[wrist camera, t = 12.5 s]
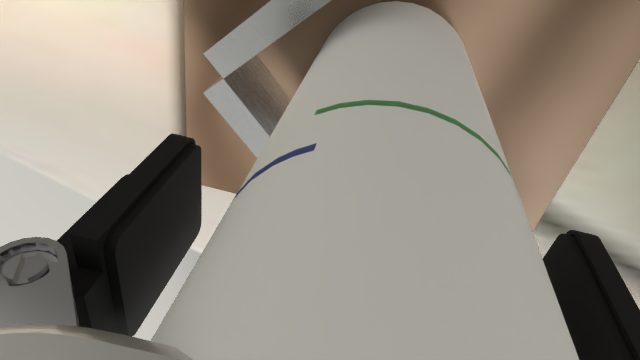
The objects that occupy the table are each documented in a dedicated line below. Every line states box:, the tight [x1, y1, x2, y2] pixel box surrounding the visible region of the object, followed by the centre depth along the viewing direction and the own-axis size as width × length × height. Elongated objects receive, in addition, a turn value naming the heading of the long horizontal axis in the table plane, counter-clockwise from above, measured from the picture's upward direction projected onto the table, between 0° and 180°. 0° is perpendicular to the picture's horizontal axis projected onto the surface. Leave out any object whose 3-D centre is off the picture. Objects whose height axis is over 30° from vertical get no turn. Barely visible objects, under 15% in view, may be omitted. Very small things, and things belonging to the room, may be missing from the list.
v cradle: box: [184, 0, 640, 231], centre depth 19 cm, size 20×18×5 cm
